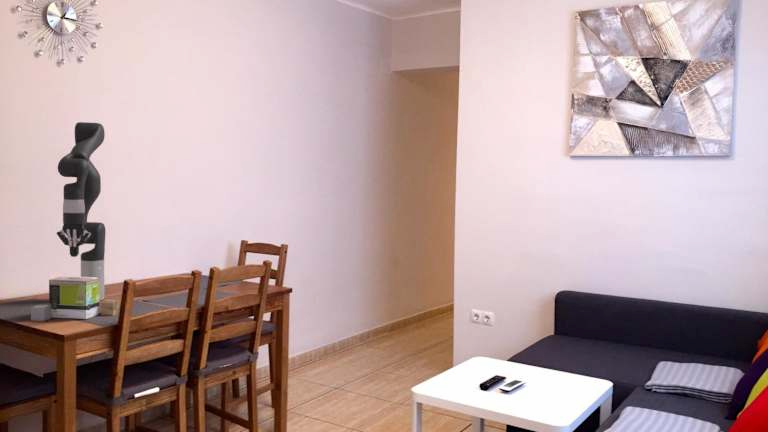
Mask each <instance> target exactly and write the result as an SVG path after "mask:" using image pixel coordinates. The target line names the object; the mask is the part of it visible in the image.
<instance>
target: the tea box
mask: <svg viewBox="0 0 768 432" xmlns="http://www.w3.org/2000/svg"><path fill="white" fill-rule="evenodd" d="M48 299H49V302H48V305H52V318H54V319H55V318H56V319H57V318H58V319H60V318H61V319H75V320H76V319H79V320H88V319H90V318H93V317H95V316H98V315H100V307H101V301H100V300H99V277H81V276H73V275H71V276H70V275H62V276H59V277H54V278H52V279H51V278H50V279H49V280H48Z"/></svg>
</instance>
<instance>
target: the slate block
mask: <svg viewBox="0 0 768 432" xmlns="http://www.w3.org/2000/svg"><path fill="white" fill-rule="evenodd" d="M52 318H53V317H52V305H49V304H40V303H39V304H36V305H34V306H30V321H35V322H36V321H37V322H38V321H39V322H45V321H47V320H50V319H52Z"/></svg>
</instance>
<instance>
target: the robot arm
mask: <svg viewBox="0 0 768 432" xmlns="http://www.w3.org/2000/svg"><path fill="white" fill-rule="evenodd" d="M105 135H106V134H105V128H104V126H103V125H102V123H98V122H83V121H79V122H78V121H77V123H76V124H75V126H74V143H75V145H74V146H73V147H72V149H71V151H70V152H69V153H67V154H66V155H64V156H63V157H62V158H61V159H60V160H59V161H58V163H57V172H58V173H59V175H60V176H62V177H64V178H76V181H75V182H71V183H65V184H64V186H63V202H62V223H63V225H62V228H61V230H59V231H57V232H56V235H57V237H58V238H59V239H60V240H61V242H62V243H63V244H64V245H65V246H68V247H69V255H70V257H74V258H77V257H78V255H80V277H99V301H102V300H104V299H105V252H106V250H105V248H106V234H107V233H106V225H105V224H104V223H102V222H97V221H95V222H94V221H93V222H90V221H88V215H89V212H90V211H91V208H92V206H93V205H94V204H95V202H96V201H97V199H98V197H99V196H100V194H101V191H102V188H101V187H102V186H101V185H102V184H101V183H102V182H101V174H100V172H99V171H98V169H97V167H95V165H94V164H93V162H92V161H91V159H90V158H91V156H92V154H93V153H94V152H95V151H96V150H97V149H98V148H99V147H101V145H102V144H103V143H104V140H105ZM87 244H88V245H94V247H93V248H91V249H90V250H88V251H83V252H82V253H81V254H79V253H80V246H83V245H87Z"/></svg>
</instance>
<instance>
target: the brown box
mask: <svg viewBox="0 0 768 432" xmlns="http://www.w3.org/2000/svg"><path fill="white" fill-rule="evenodd" d="M119 313H120V300H118V299H105V300H104V301H100V315H101V316H115V315H117V314H119Z"/></svg>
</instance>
